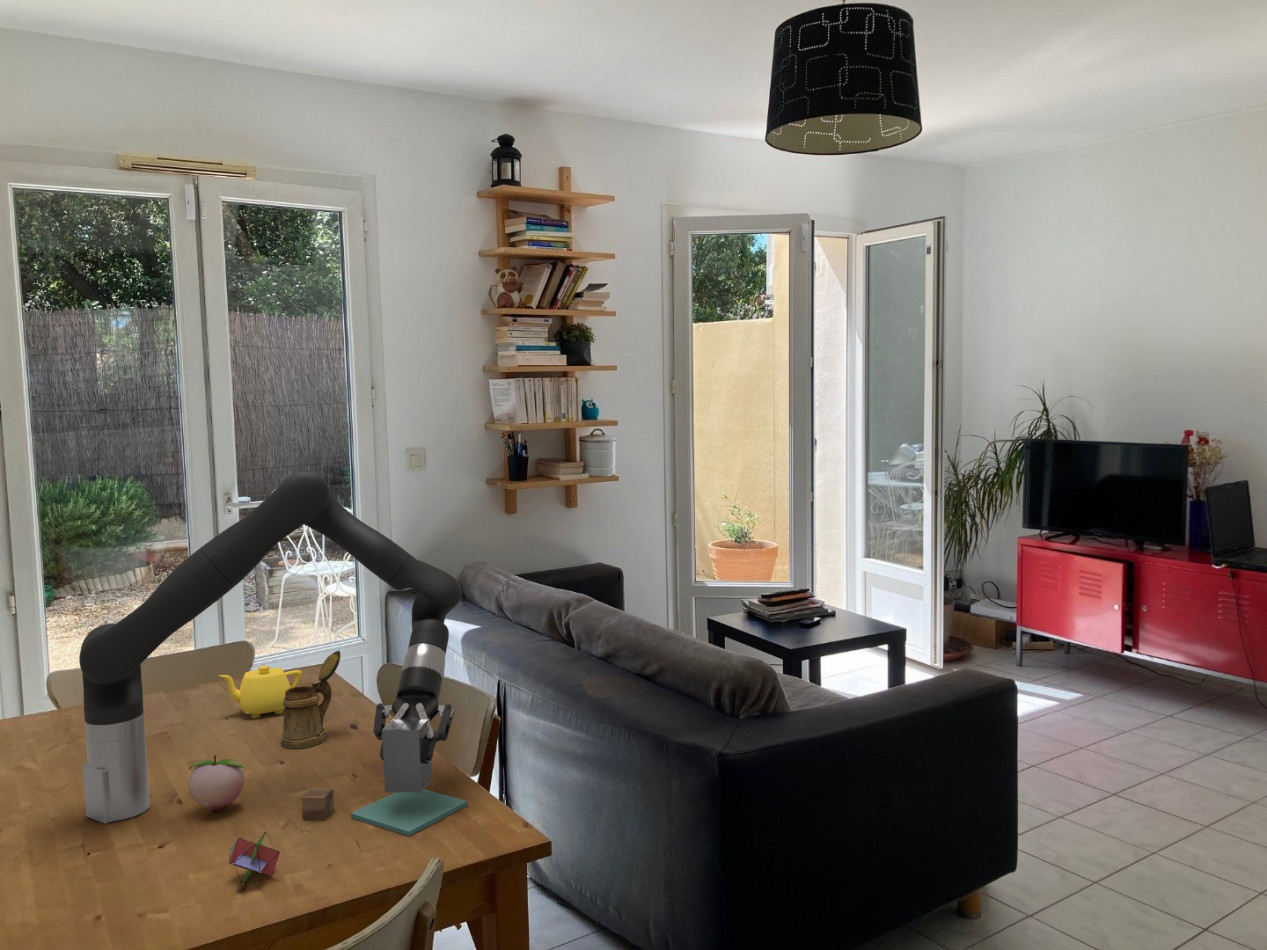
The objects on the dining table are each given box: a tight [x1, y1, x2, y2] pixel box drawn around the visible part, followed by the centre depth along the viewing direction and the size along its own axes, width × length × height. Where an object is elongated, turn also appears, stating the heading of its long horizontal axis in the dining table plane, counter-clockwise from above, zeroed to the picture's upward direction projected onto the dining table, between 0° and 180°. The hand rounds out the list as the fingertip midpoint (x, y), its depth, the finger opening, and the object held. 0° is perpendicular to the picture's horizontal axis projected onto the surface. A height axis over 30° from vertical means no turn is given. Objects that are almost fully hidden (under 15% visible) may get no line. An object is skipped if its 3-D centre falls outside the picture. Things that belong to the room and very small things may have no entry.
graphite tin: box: [381, 717, 433, 793], centre depth 173 cm, size 6×6×11 cm
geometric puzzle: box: [228, 830, 281, 886], centre depth 151 cm, size 7×7×8 cm
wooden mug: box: [280, 650, 342, 750], centre depth 211 cm, size 9×14×18 cm, turn 128°
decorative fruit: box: [187, 754, 245, 811], centre depth 175 cm, size 9×8×10 cm
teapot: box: [218, 665, 303, 719], centre depth 230 cm, size 18×11×11 cm, turn 116°
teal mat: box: [350, 789, 468, 837], centre depth 174 cm, size 14×14×1 cm
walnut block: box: [301, 787, 335, 821], centre depth 173 cm, size 4×4×4 cm
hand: (405, 761), depth 171 cm, fingers closed on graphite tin, 6 cm apart
